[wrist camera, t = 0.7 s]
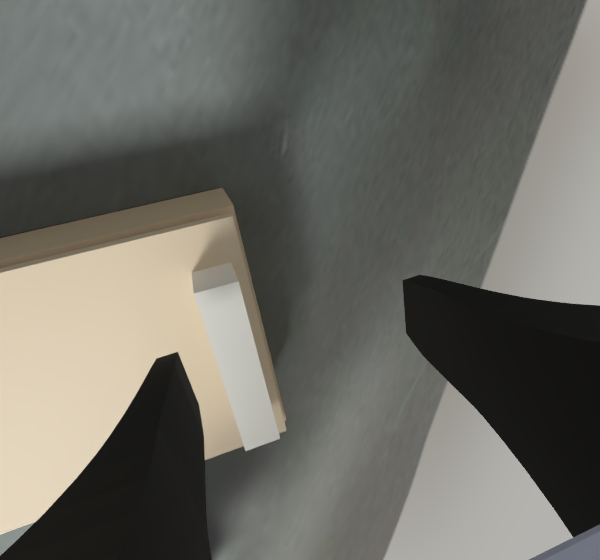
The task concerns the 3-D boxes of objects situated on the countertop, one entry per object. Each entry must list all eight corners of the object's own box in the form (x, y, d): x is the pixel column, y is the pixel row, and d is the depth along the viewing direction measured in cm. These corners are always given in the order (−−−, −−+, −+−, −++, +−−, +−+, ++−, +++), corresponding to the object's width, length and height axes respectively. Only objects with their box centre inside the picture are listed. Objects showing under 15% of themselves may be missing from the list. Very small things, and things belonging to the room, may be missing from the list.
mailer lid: (283, 422, 20) (297, 461, 18) (-45, 539, 17) (-77, 604, 15) (230, 212, 15) (240, 230, 13) (-246, 327, 12) (-342, 377, 10)
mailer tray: (270, 375, 24) (286, 419, 21) (-8, 467, 21) (-44, 537, 18) (222, 187, 19) (233, 205, 16) (-157, 273, 16) (-250, 319, 12)
